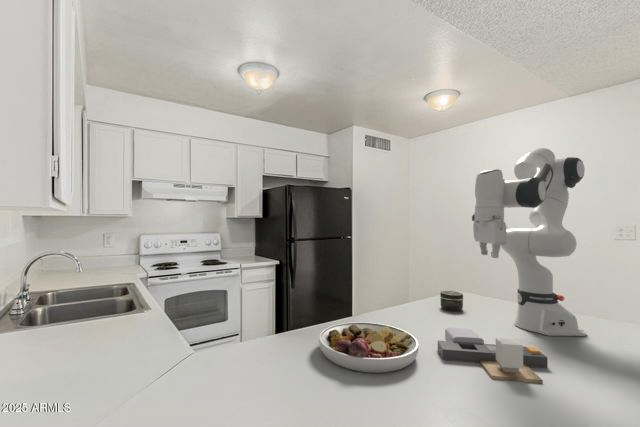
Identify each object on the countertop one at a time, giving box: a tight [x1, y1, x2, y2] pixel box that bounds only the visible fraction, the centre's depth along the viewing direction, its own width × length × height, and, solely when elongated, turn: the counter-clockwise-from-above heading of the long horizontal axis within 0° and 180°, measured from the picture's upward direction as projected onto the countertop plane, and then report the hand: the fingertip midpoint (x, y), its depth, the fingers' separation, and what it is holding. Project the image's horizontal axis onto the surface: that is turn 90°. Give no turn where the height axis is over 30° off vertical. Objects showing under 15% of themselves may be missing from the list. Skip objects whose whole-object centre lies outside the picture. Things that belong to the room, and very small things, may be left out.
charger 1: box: [444, 327, 485, 344], centre depth 104 cm, size 5×9×15 cm
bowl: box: [318, 321, 420, 374], centre depth 95 cm, size 30×30×8 cm
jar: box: [439, 290, 464, 312], centre depth 147 cm, size 10×10×8 cm
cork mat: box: [479, 361, 544, 384], centre depth 84 cm, size 12×9×1 cm
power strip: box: [437, 340, 548, 369], centre depth 93 cm, size 28×7×4 cm, turn 81°
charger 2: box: [495, 337, 524, 373], centre depth 84 cm, size 5×4×8 cm
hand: (489, 256), depth 106 cm, fingers open, 8 cm apart
